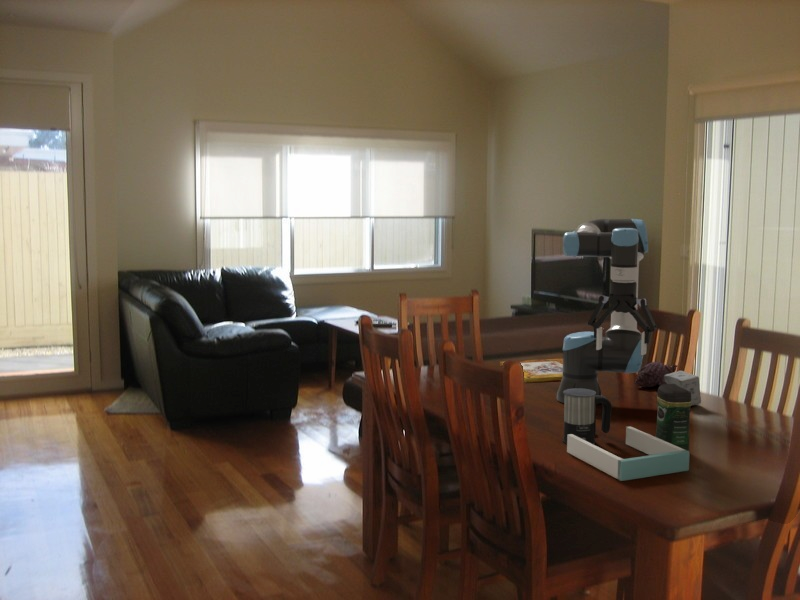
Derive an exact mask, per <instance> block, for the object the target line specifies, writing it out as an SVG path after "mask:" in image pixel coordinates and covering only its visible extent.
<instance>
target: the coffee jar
mask: <svg viewBox="0 0 800 600" xmlns="http://www.w3.org/2000/svg"><path fill="white" fill-rule="evenodd" d="M656 400H657V411H656V412H657V416H656V428H655V429H656V430H655V437H657V438H659V439H661V440H664V441H666V442H668V443H671V444H673V445H675V446H678V447H680V448H682V449H685V450H687V451H689V452H690V422H691V421H690V420H691V419H690V417H691V416H690V415H691V392H690V391H688V390H686V389H684V388H682V387H680V386H677V385H676V384H662V385H661V386H659V387H658V388H657V396H656Z"/></svg>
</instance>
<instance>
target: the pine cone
mask: <svg viewBox="0 0 800 600" xmlns="http://www.w3.org/2000/svg"><path fill="white" fill-rule="evenodd" d="M677 368H678V364H677V365H676V364H675V363H673V364H670V363H667V364H664V363H663V362H660V361H651V362H650V363H647V364H645V366H643V367H641V369H640V371H639V372H638V373H637V377H636V378H635V380H634V384H635V385H636V386H637V387H640V388H641V387H642V388H645V389H646V388H652V387H655V386H659V387H660V386H661V385H662V384H667V383H666V382H665V381H664V375H667V374H670V373H673V372H677Z"/></svg>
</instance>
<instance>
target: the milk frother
mask: <svg viewBox="0 0 800 600" xmlns="http://www.w3.org/2000/svg"><path fill="white" fill-rule="evenodd" d="M563 394H564V403H563V404H564V406H563V412H564V413H563V414H564V415H563V419H564V420H563V438H562V442H563V443H565V444H566V445H567V435H568V434H573V435H575V436H577V437H579V438H581V439H583V440H585V441H587V442H589V443H591V444H593V445H595V443H596V439H595V437H596V436H597V435H596V434H597V433H596V429H597V428H596V427H597V426H596V423H597V422H596V418H597V416H596V415H597V404H596V403H599V404H601V405H602V412H601V414H602V415H601V425H600V427H601V428H600V430H601V431H602V432H603V433H604V434H608V433H610V430H611V418H612V406H613V405H612V403H611V402H610V400H609V399H608V398H607V397H605V396H604V395H602V396H601V395H595V394H596V392H595V391H593V390H590V389H583V388H573V389H567V390H564V392H563Z"/></svg>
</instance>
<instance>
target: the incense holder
mask: <svg viewBox="0 0 800 600" xmlns="http://www.w3.org/2000/svg"><path fill="white" fill-rule="evenodd" d="M664 381H665V382H666V383H667V384H676V385H677V386H680V387H682V388H684V389H686V390H688V391H690V392H691V406H696V405H700V404H701V403H702V399H701V387H700V386H701V385H700V384H701V383H700V377H699V375H695V374H692V373H689V372H686V371H684V370H678V371H677V370H676V371H675V372H673V373H670V374H667V375H664Z"/></svg>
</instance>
